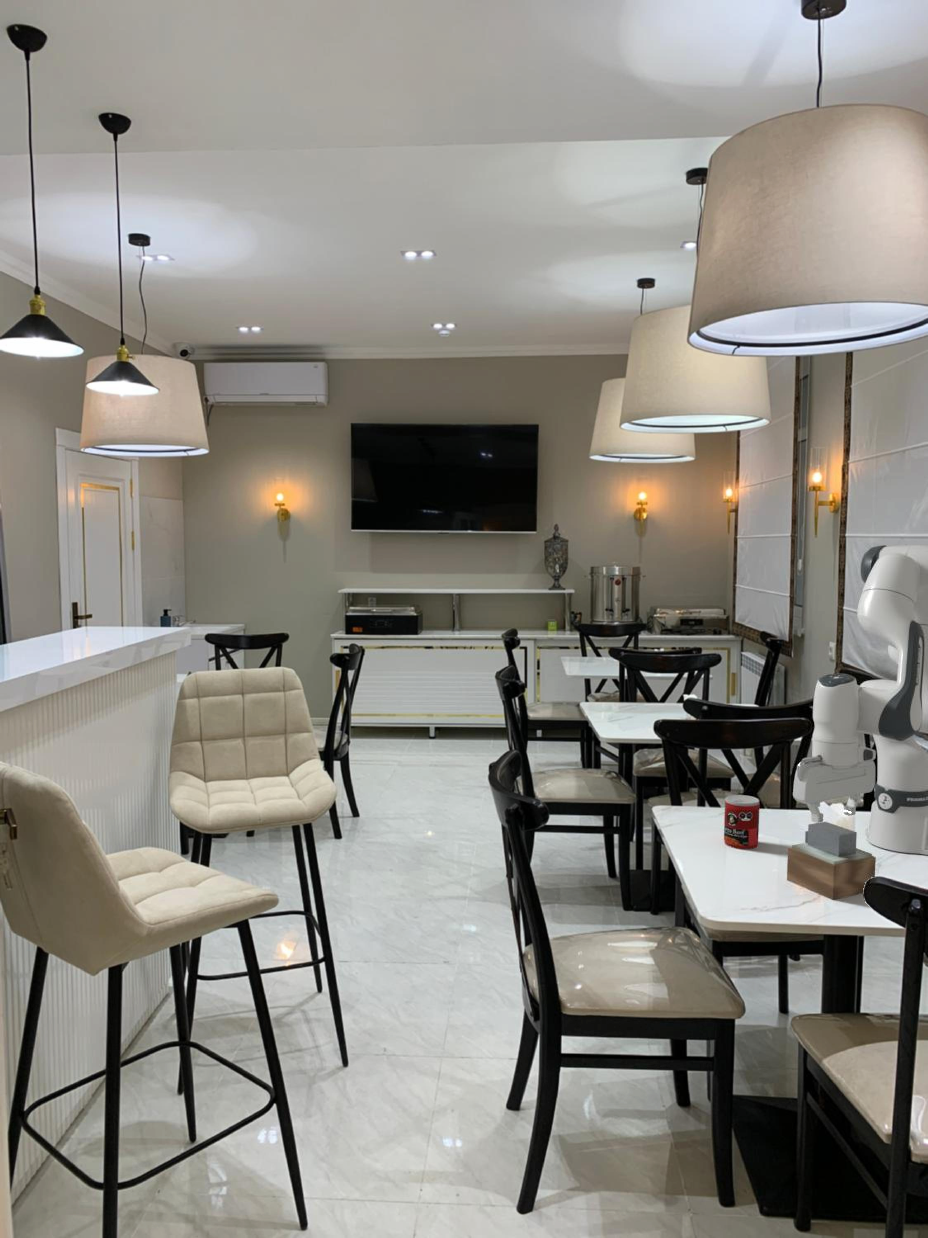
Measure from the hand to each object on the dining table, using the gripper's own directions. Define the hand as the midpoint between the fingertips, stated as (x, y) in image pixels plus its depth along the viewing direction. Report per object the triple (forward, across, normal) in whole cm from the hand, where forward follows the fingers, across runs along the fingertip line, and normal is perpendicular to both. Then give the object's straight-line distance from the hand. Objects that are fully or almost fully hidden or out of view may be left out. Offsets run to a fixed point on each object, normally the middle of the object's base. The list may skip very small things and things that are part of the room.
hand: (833, 818), depth 185 cm
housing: (+6, -1, 0) cm, 7 cm away
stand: (+14, -1, 0) cm, 14 cm away
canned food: (+14, +1, +28) cm, 31 cm away
